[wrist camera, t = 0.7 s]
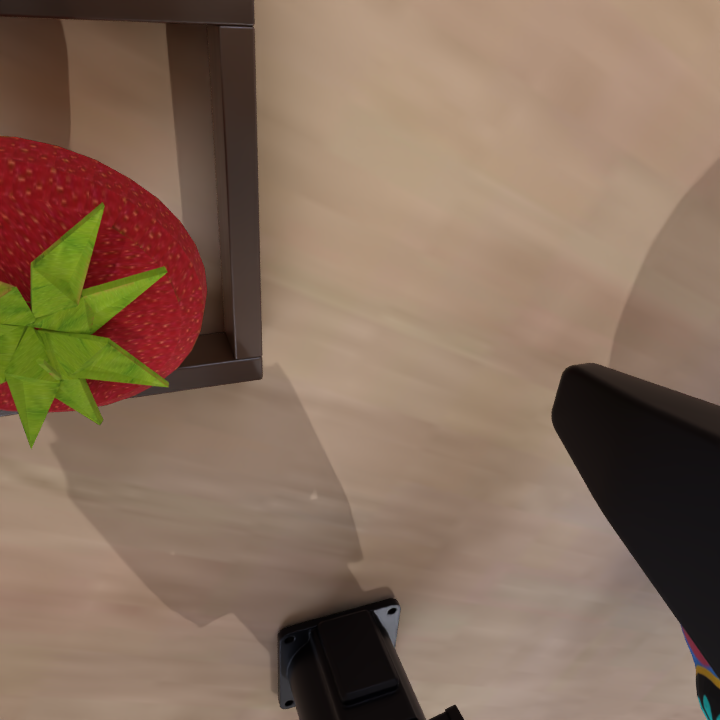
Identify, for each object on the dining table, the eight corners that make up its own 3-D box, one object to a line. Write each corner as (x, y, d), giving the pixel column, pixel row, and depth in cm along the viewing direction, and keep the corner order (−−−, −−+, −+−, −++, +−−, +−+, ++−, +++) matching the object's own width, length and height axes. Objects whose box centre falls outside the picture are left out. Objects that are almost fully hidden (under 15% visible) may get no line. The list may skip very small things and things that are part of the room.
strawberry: (-109, 41, 15) (-324, 141, 7) (204, 143, 19) (292, 284, 11) (-127, 267, 17) (-303, 532, 9) (155, 318, 21) (198, 542, 13)
